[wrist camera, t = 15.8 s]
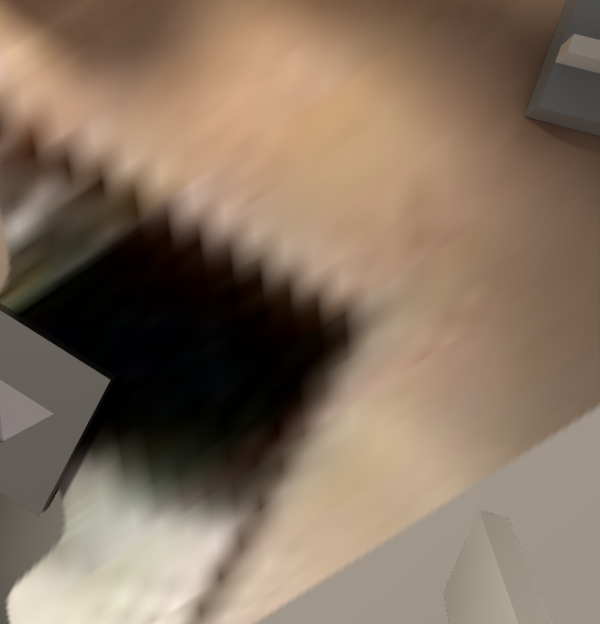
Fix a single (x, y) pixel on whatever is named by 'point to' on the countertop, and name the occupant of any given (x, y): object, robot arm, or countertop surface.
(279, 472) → the countertop surface
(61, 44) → the countertop surface
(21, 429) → the play button award
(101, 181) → the countertop surface
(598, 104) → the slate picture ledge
